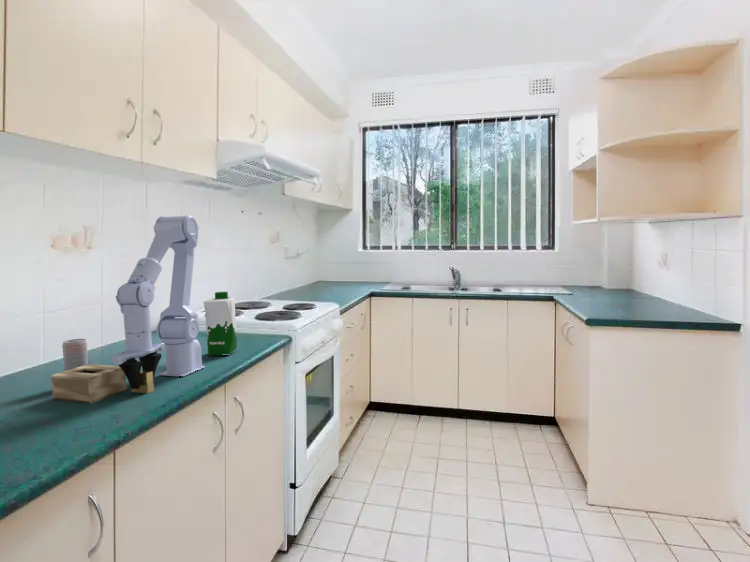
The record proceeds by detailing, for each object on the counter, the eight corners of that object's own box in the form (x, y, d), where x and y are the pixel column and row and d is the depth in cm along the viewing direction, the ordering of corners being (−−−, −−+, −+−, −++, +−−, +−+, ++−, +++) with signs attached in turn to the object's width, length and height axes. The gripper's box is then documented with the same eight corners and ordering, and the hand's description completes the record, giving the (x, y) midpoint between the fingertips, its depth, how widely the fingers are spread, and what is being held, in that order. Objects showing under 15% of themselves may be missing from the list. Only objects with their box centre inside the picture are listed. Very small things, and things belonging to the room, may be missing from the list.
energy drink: (85, 381, 125) (82, 337, 124) (93, 384, 122) (89, 339, 121) (63, 386, 121) (58, 341, 120) (70, 390, 117) (66, 343, 116)
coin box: (90, 386, 120) (88, 364, 119) (126, 389, 116) (124, 366, 116) (53, 399, 110) (50, 375, 110) (91, 403, 107) (89, 378, 106)
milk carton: (240, 349, 157) (236, 291, 155) (231, 356, 148) (227, 294, 146) (214, 350, 157) (210, 291, 155) (203, 357, 148) (199, 295, 146)
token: (137, 389, 117) (136, 370, 116) (154, 390, 115) (152, 371, 115) (131, 392, 115) (130, 372, 114) (147, 393, 113) (146, 373, 113)
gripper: (127, 338, 105) (131, 396, 107) (172, 326, 119) (176, 378, 120) (103, 337, 108) (108, 394, 109) (150, 325, 121) (154, 376, 123)
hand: (142, 385), depth 115 cm, fingers open, 4 cm apart
